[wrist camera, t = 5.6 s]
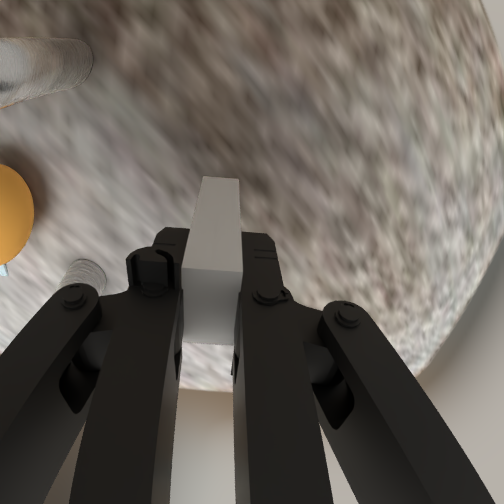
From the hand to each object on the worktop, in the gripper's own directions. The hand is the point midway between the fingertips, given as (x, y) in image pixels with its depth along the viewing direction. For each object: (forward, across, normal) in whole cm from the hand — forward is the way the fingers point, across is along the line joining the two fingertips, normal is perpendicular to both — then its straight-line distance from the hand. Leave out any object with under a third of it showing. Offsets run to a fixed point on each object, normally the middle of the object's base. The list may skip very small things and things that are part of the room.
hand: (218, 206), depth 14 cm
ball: (0, -12, -1) cm, 12 cm away
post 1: (+2, -8, +6) cm, 10 cm away
